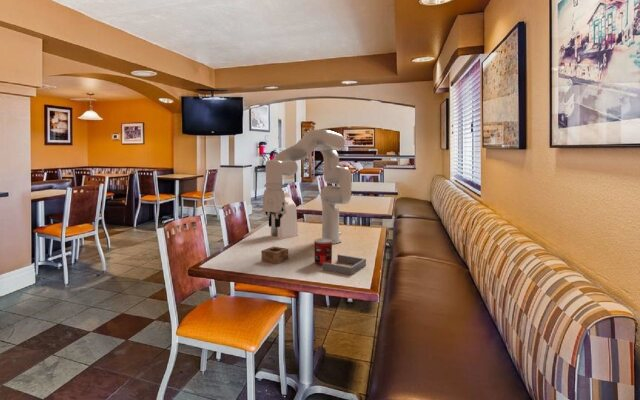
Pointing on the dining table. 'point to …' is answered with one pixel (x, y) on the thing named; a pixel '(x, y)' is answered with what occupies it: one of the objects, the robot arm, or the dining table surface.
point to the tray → (345, 269)
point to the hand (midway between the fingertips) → (274, 226)
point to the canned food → (322, 251)
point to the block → (275, 255)
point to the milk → (288, 220)
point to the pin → (273, 225)
